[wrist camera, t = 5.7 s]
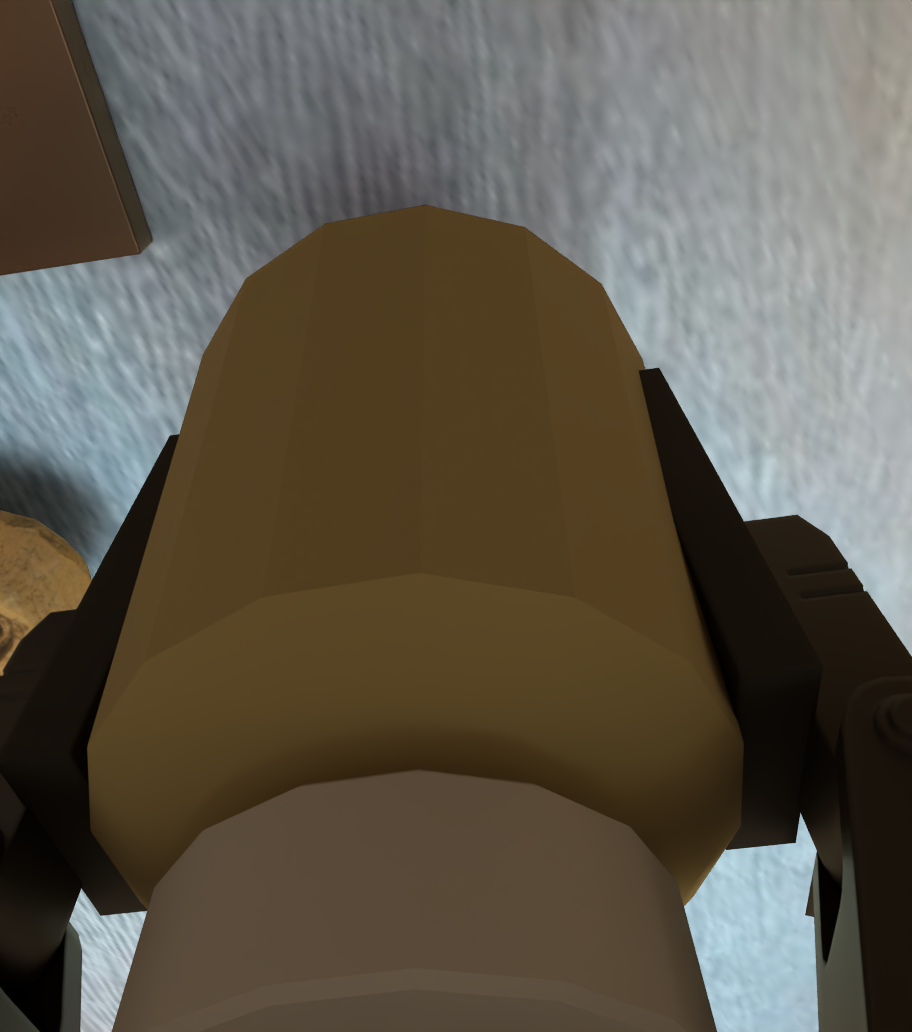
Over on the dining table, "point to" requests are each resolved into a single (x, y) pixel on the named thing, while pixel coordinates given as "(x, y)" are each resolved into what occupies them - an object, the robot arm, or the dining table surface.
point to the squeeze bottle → (416, 662)
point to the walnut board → (58, 148)
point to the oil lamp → (34, 578)
